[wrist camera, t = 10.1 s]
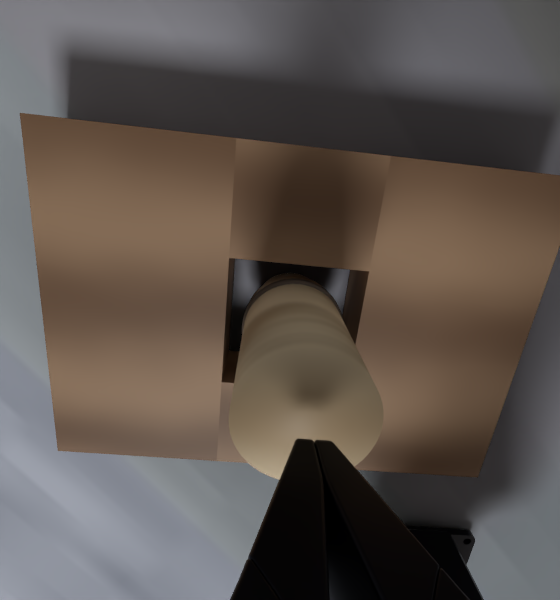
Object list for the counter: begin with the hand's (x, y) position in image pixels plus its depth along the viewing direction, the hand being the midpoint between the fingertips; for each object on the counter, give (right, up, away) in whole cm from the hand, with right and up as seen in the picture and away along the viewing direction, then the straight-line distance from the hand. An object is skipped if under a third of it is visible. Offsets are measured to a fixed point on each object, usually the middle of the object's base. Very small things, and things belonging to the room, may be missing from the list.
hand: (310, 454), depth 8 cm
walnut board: (0, +3, +10) cm, 10 cm away
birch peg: (0, +3, +10) cm, 10 cm away
